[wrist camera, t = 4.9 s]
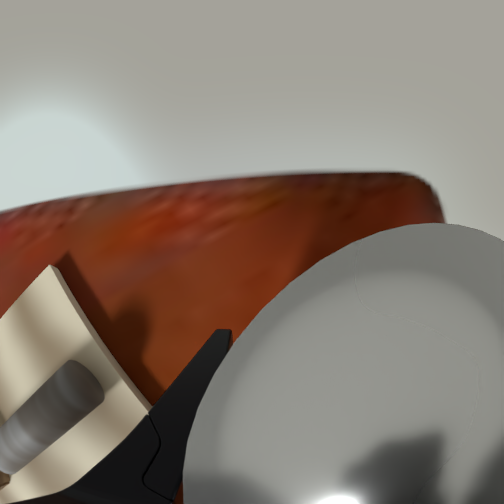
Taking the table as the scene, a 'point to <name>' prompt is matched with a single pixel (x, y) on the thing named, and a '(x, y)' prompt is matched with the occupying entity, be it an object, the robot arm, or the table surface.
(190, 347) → the table surface
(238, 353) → the metal cup
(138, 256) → the table surface
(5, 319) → the shaft board
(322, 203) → the table surface
